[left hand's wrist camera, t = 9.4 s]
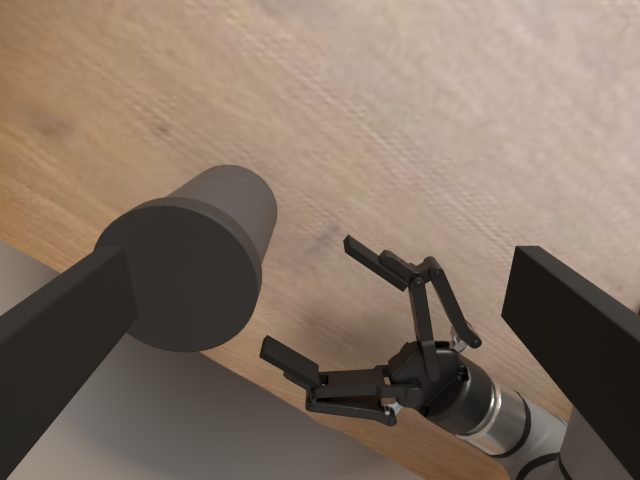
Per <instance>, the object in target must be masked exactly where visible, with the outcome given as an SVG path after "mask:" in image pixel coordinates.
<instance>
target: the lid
mask: <svg viewBox="0 0 640 480" xmlns="http://www.w3.org/2000/svg"><path fill="white" fill-rule="evenodd" d="M101 246H124V247H125V252H126V257H127V262H128V266H129V271H130V276H131V281H132V285H133V290H134V295H135V300H136V304H137V309H138V314H139V317H138V318H137V319H136V320H135V322H134V323H133V324H132V325H131V327H130V328H129V329H128V330H127V331H126V332H127V333H128V334H130V335H131V336H133V337H134V338H136V339H138V340H140V341H142V342H144V343H146V344H148V345H151V346H153V347H156V348H160V349H163V350H168V351H174V352H197V351H204V350H208V349H211V348H214V347H217V346H219V345H222V344H224V343H225V342H227V341H229V340H231V339H232V338H233V337H235V336H236V335H237V334H238V333H239V332H240V331H241V330H242V329H243V328H244V327H245V325H246V324H247V323H248V321H249V320H250V318H251V316H252V314H253V312H254V309H255V306H256V303H257V300H258V296H259V293H260V289H261V284H262V268H261V262H260V258H259V254H258V252H257V249H256V247H255V245H254V243H253V241H252V240H251V238H250V236H249V235H248V234H247V232H246V231H245V230H244V229H243V228H242V227H241V226H240V224H239V223H238V222H237V221H235V220H234V219H233V218H232V217H231V216H229V215H228V214H227V213H225V212H223V211H222V210H220V209H219V208H216V207H214V206H212V205H210V204H208V203H205V202H202V201H199V200H195V199H190V198H184V197H164V198H158V199H154V200H151V201H147V202H145V203H142V204H140V205H138V206H136V207H135V208H133V209H131V210H130V211H128V212H126V213H125V214H123V215H122V216H120V217H119V218H117V219H116V220H114V221H113V222H112V223H111V224H110V225H109V226H108V227H107V228H106V229H105V230H104V231H103V233H102V234H101V235H100V237H99V239H98V241H97V243H96V245H95V248H94V251H95V250H96V249H98V248H99V247H101Z"/></svg>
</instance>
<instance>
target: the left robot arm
mask: <svg viewBox="0 0 640 480" xmlns="http://www.w3.org/2000/svg"><path fill="white" fill-rule="evenodd" d="M138 317H139V314H138V309H137V304H136V300H135V295H134V290H133V285H132V281H131V276H130V271H129V266H128V262H127V257H126V252H125V247H124V246H101V247H99V248H98V249H96V250H95V251H93V252H92V253H90V254H89V255H88V256H86V257H85V258H83V259H82V260H80V261H79V262H78V263H76V264H75V265H73V266H72V267H70V268H69V269H67V270H66V271H65V272H63V273H62V274H60V275H59V276H58V277H56V278H55V279H53V280H52V281H50V282H49V283H47V284H46V285H45V286H43V287H42V288H40V289H39V290H37V291H36V292H34V293H33V294H32V295H30V296H29V297H27V298H26V299H24V300H23V301H22V302H20V303H19V304H17V305H16V306H14V307H13V308H11V309H10V310H9V311H7V312H6V313H4V314H3V315H2V316H0V480H6V479H7V478H8V476H9V475H10V474H11V473H12V472H13V470H14V469H15V468H16V467H17V465H18V464H19V463H20V462H21V461H22V459H23V458H24V457H25V456H26V454H27V453H28V452H29V451H30V449H31V448H32V447H33V446H34V445H35V443H36V442H37V441H38V440H39V438H40V437H41V436H42V435H43V433H44V432H45V431H46V430H47V429H48V427H49V426H50V425H51V424H52V422H53V421H54V420H55V419H56V417H57V416H58V415H59V414H60V413H61V411H62V410H63V409H64V408H65V406H66V405H67V404H68V403H69V402H70V400H71V399H72V398H73V397H74V395H75V394H76V393H77V392H78V390H79V389H80V388H81V387H82V386H83V384H84V383H85V382H86V381H87V379H88V378H89V377H90V376H91V374H92V373H93V372H94V371H95V370H96V368H97V367H98V366H99V365H100V363H101V362H102V361H103V360H104V359H105V357H106V356H107V355H108V354H109V352H110V351H111V350H112V349H113V347H114V346H115V345H116V344H117V343H118V341H119V340H120V339H121V338H122V336H123V335H124V334H125V333H126V331H127V330H128V329H129V328H130V327H131V325H132V324H133V323H134V322H135V320H136V319H137V318H138ZM501 317H502V318H503V319H504V320H505V322H506V323H507V324H508V325H509V327H510V328H511V329H512V330H513V331H514V333H515V334H516V335H517V336H518V338H519V339H520V340H521V341H522V343H523V344H524V345H525V346H526V347H527V349H528V350H529V351H530V352H531V354H532V355H533V356H534V357H535V359H536V360H537V361H538V362H539V363H540V365H541V366H542V367H543V368H544V370H545V371H546V372H547V373H548V375H549V376H550V377H551V378H552V379H553V381H554V382H555V383H556V384H557V386H558V387H559V388H560V389H561V391H562V392H563V393H564V394H565V395H566V397H567V398H568V399H569V400H570V402H571V403H572V404H573V405H574V406H575V408H576V409H577V410H578V411H579V413H580V414H581V415H582V416H583V418H584V419H585V420H586V421H587V422H588V424H589V425H590V426H591V427H592V429H593V430H594V431H595V432H596V434H597V435H598V436H599V437H600V438H601V440H602V441H603V442H604V443H605V445H606V446H607V447H608V448H609V450H610V451H611V452H612V453H613V454H614V456H615V457H616V458H617V459H618V461H619V462H620V463H621V464H622V465H623V467H624V468H625V469H626V470H627V472H628V473H629V474H630V475H631V477H632V478H633V479H634V480H640V316H639V315H637V314H636V313H634V312H633V311H631V310H630V309H629V308H627V307H626V306H624V305H623V304H621V303H620V302H618V301H617V300H616V299H614V298H613V297H611V296H610V295H608V294H607V293H606V292H604V291H603V290H601V289H600V288H598V287H597V286H595V285H594V284H593V283H591V282H590V281H588V280H587V279H585V278H584V277H583V276H581V275H580V274H578V273H577V272H575V271H574V270H573V269H571V268H570V267H568V266H567V265H565V264H564V263H562V262H561V261H560V260H558V259H557V258H555V257H554V256H552V255H551V254H550V253H548V252H547V251H545V250H544V249H542V248H541V247H539V246H516V247H515V252H514V257H513V262H512V266H511V271H510V276H509V281H508V285H507V290H506V295H505V300H504V304H503V309H502V314H501Z"/></svg>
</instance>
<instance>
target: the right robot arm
mask: <svg viewBox="0 0 640 480" xmlns="http://www.w3.org/2000/svg"><path fill="white" fill-rule="evenodd" d="M343 242H344V249H345V253H347V254H348V255H350V256H351V257H353V258H354V259H356V260H357V261H358V262H360V263H361V264H363V265H364V266H366V267H367V268H369V269H370V270H372V271H373V272H375V273H376V274H378V275H379V276H381V277H382V278H383V279H385V280H386V281H388V282H389V283H391V284H392V285H394V286H395V287H397V288H398V289H400V290H401V291H404V290H405V289H406V288H407V287H408V291H409V297H410V302H411V308H412V314H413V319H414V325H415V327H414V328H415V334H416V340H417V341H413V342H411V343H408V342H407V343H406V344H405V345H404V346H403V347H402V349H401V350H400V352H399V353H398V354H396V355H395V356H393V357H392V358H391V359H390V360H389V361H388V364H389V365H378V366H376V367H375V368H374V369H365V370H348V371H331V372H318V366H319V365H318V364H316V363H314V362H313V361H311V360H309V359H307V358H306V357H304V356H302V355H301V354H299V353H297V352H296V351H294V350H292V349H290V348H289V347H287V346H285V345H284V344H282V343H280V342H279V341H277V340H275V339H273V338H272V337H270V336H268V335H267V336H266V337H265V338H264V340H263V343H262V347H261V352H260V356H259V357H260V358H262V359H264V360H265V361H267V362H269V363H271V364H272V365H274V366H276V367H278V368H279V369H281V370H283V371H284V374H283V375H284V376H285V378H286V379H288V380H290V381H292V382H293V383H295V384H297V385H299V386H300V387H302V388H304V389H306V405H305V408H306V410H307V411H310V412H317V413H325V414H332V415H340V416H348V417H356V418H363V419H371V420H376V421H378V422H381V423H383V424H385V425H387V426H394V425H396V423H397V420H396V414H397V413H398V412H399V411H400V410H401V408H402V407H409V408H413V409H415V410H417V411H418V412H419V413H420V414H421V415H422V416H423V417H425V418H426V419H427V420H429V421H431V422H432V423H434V424H436V425H437V426H439V427H441V428H442V429H444V430H446V431H447V432H449V433H452V434H453V435H454V436H456V437H457V438H458V439H460V440H462V441H464V442H465V443H467V444H469V445H471V446H473V447H474V448H476V449H478V450H480V451H481V452H483V453H485V454H486V455H488V456H490V457H491V458H493V459H495V460H496V461H498V462H499V463H501V464H502V465H503V466H504V468H505V469H506V471H507V473H508V475H509V477H510V479H511V480H634V479H633V478H632V477H631V475H630V474H629V473H628V472H627V470H626V469H625V468H624V467H623V465H622V464H621V463H620V462H619V461H618V459H617V458H616V457H615V456H614V454H613V453H612V452H611V451H610V450H609V448H608V447H607V446H606V445H605V443H604V442H603V441H602V440H601V438H600V437H599V436H598V435H597V434H596V432H595V431H594V430H593V429H592V427H591V426H590V425H589V424H588V422H587V421H586V420H585V419H584V418H583V416H582V415H581V414H580V413H579V411H578V410H577V409H576V408H575V406H573V409H572V413H571V416H570V419H569V423H568V424H567V423H565V422H564V421H563V420H562V419H560V418H558V417H556V416H555V415H553V414H551V413H549V412H547V411H546V410H544V409H543V408H541V407H540V406H538V405H536V404H535V403H533V402H532V401H530V400H529V399H527V398H526V397H524V396H523V395H521V394H519V393H518V392H516V391H515V390H513V389H512V388H510V387H509V386H507V385H506V384H504V383H503V382H501V381H500V380H498V379H497V378H495V377H494V376H492V375H491V374H489V373H488V372H485V371H484V370H483V369H482V368H481V367H479V366H478V365H476V364H475V363H473V362H472V361H470V360H469V359H467V358H466V357H464V356H463V355H461V354H459V353H461V352H462V351H463V350H465V349H466V348H467V347H468V346H470V347H471V348H478V347H480V346H481V344H482V341H481V339H480V338H479V336H478V335H477V333H476V332H475V330H474V329H473V327H472V326H471V324H470V323H468V322H467V321H466V320H465V319H464V316H463V314H462V312H461V309H460V307H459V305H458V303H457V300H456V298H455V296H454V294H453V291H452V289H451V287H450V285H449V282H448V280H447V278H446V276H445V273H444V271H443V270H442V268H441V267H440V265H439V264H438V262H437V261H436V259H435V258H434V257H430V256H429V257H427V258H425V259H424V261H423V263H421V264H419V265H417V266H415V265H414V264H412V263H409V264H408V263H406V262H405V261H404V260H402V259H401V258H399V257H398V256H396V255H395V254H394V253H392V252H391V251H388V250H384V251H383V252H382V253H381V254H380V255H379V256H378V255H377V254H375V253H374V252H372V251H371V250H370V249H368V248H367V247H365V246H364V245H362V244H361V243H360V242H358V241H357V240H355V239H354V238H352V237H351V236H349V235H347V237H346V238H345V239H344V240H343ZM429 281H431V282H432V284H433V286H434V289H435V291H436V293H437V295H438V297H439V299H440V302H441V304H442V306H443V308H444V310H445V313H446V315H447V317H448V319H449V320H450V322H451V324H452V327H451V331H450V334H451V336H452V340H451V342H448V341H434V339H433V333H432V327H431V320H430V314H429V308H428V302H427V295H426V289H425V283H427V282H429ZM384 377H389V380H390V384H391V385H387V384H385V381H384ZM322 384H325V385H322Z"/></svg>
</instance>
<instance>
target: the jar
mask: <svg viewBox="0 0 640 480" xmlns="http://www.w3.org/2000/svg"><path fill="white" fill-rule="evenodd" d="M167 197H184V198H190V199H195V200H199V201H202V202H205V203H208V204H210V205H212V206H214V207H216V208H219V209H220V210H222V211H223V212H225V213H227V214H228V215H229V216H231V217H232V218H233V219H234V220H235V221H237V222H238V223H239V224H240V226H241V227H242V228H243V229H244V230H245V231H246V232H247V234H248V235H249V236H250V238H251V240H252V241H253V243H254V245H255V247H256V249H257V252H258V254H259V258H260V262H261V265H262V262H263V259H264V256H265V253H266V250H267V247H268V244H269V241H270V239H271V236H272V233H273V230H274V227H275V224H276V220H277V205H276V201H275V198H274V195H273V193H272V191H271V189H270V188H269V186H268V185H267V184H266V182H265V181H264V180H263V179H262V178H261V177H259V176H258V175H257V174H255V173H254V172H252V171H250V170H248V169H246V168H243V167H240V166H235V165H221V166H216V167H213V168H210V169H208V170H206V171H204V172H203V173H201V174H200V175H198V176H197V177H195V178H194V179H192V180H191V181H189V182H188V183H186V184H185V185H183V186H182V187H180V188H179V189H177V190H176V191H174V192H173V193H171V194H170V195H168V196H167Z"/></svg>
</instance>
